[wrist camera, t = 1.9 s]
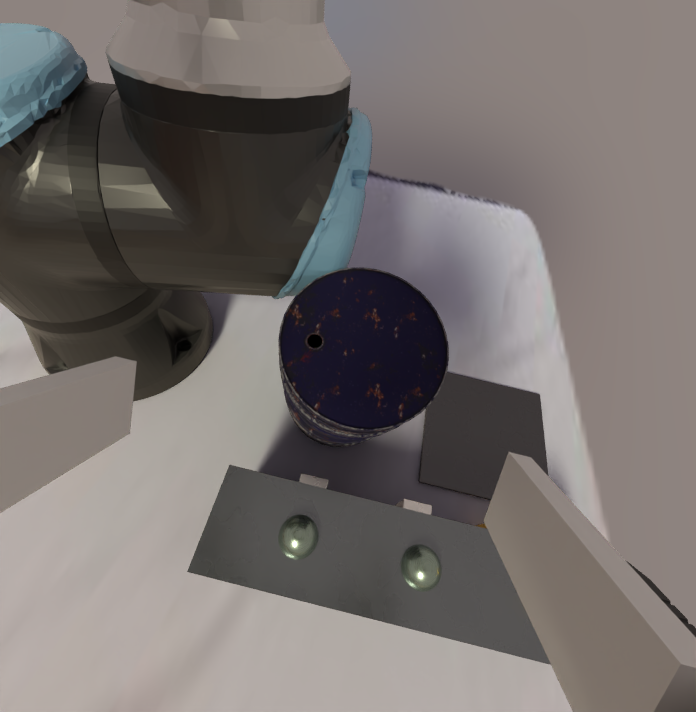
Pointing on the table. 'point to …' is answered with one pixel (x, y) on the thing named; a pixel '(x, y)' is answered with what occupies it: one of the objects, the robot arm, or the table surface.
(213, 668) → the table surface
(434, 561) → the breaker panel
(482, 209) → the table surface
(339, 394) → the dark blue barrel
